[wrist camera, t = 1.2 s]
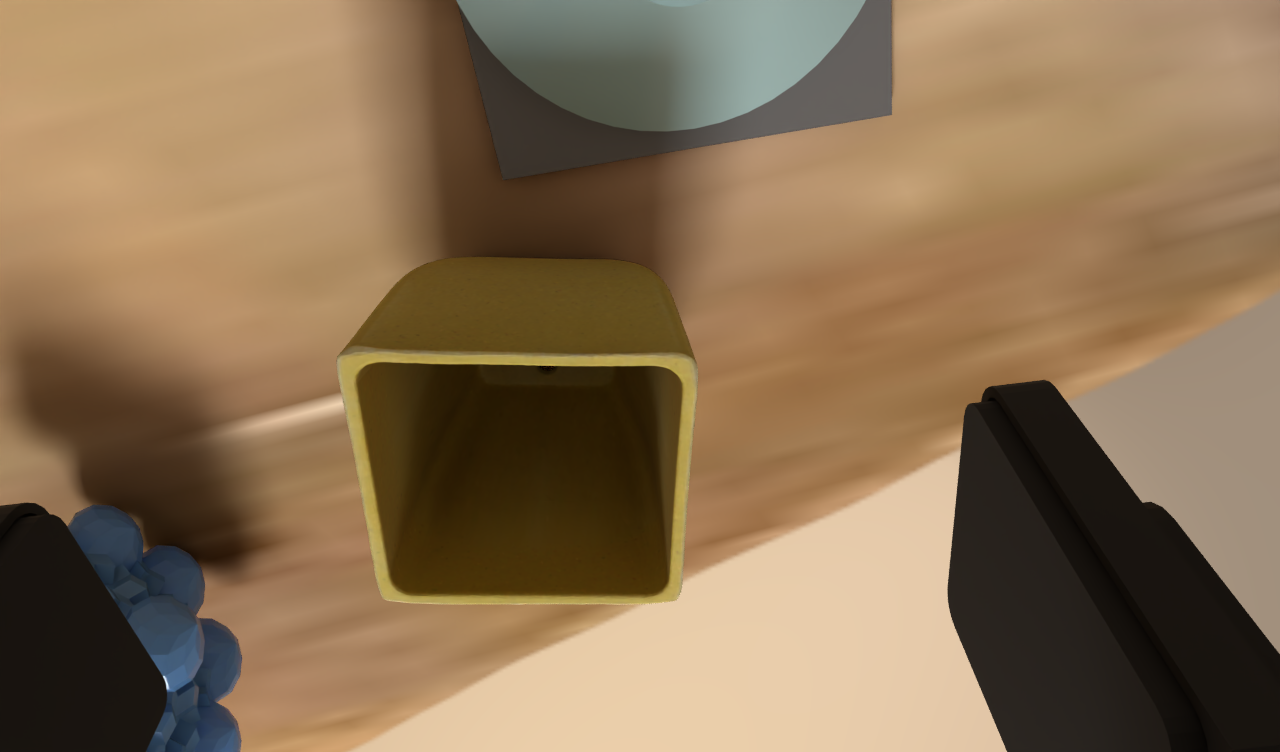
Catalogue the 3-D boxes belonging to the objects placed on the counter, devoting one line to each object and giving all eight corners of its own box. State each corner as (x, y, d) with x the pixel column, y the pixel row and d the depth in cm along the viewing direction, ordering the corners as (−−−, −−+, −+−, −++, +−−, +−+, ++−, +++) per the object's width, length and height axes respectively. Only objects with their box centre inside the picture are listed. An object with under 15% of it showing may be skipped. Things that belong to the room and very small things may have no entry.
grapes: (356, 592, 38) (271, 880, 28) (241, 653, 40) (123, 944, 30) (134, 407, 33) (-71, 684, 23) (12, 489, 35) (-227, 778, 25)
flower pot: (427, 423, 34) (378, 609, 26) (400, 202, 29) (330, 352, 21) (662, 424, 34) (680, 606, 27) (675, 206, 29) (701, 354, 22)
